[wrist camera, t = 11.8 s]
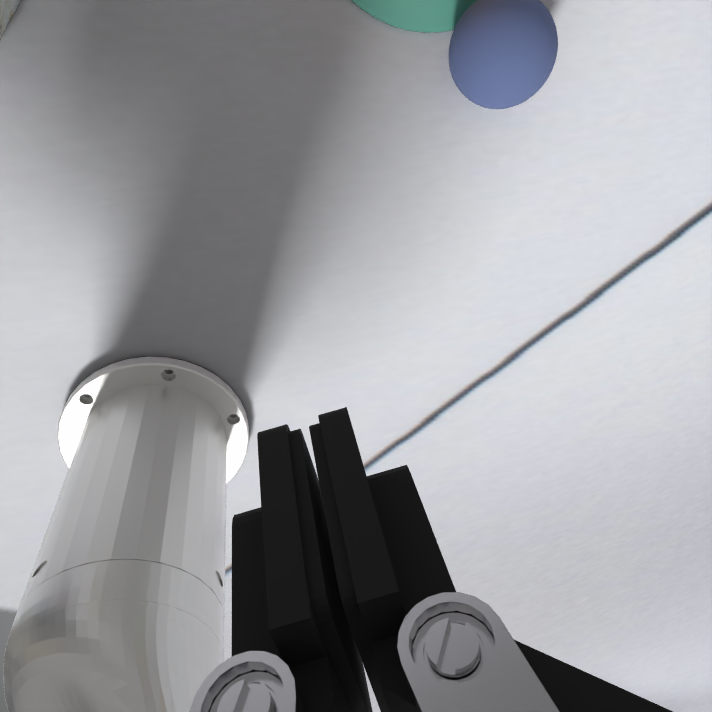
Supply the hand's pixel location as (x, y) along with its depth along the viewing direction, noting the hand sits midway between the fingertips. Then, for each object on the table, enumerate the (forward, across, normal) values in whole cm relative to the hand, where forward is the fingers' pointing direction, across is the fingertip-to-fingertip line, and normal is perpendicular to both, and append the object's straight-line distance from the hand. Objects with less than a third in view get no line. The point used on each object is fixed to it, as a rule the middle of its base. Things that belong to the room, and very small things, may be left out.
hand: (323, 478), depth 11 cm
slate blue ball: (+24, -14, -3) cm, 28 cm away
